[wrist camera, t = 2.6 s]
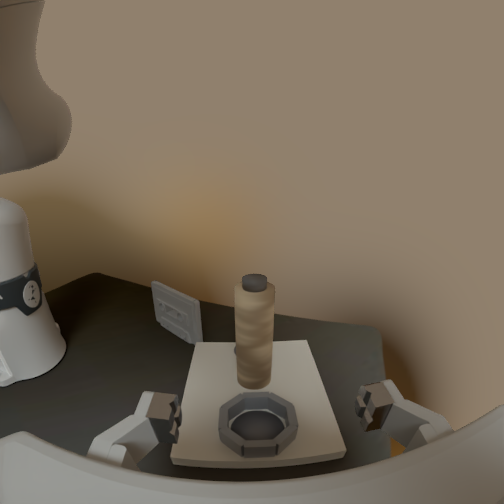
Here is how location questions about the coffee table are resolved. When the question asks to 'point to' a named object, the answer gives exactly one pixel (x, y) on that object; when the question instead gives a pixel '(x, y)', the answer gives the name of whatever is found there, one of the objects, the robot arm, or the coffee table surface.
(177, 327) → the cassette
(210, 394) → the plate
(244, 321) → the wooden leg
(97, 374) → the coffee table surface
